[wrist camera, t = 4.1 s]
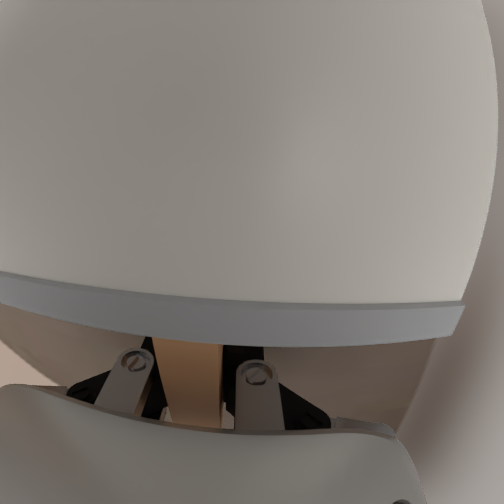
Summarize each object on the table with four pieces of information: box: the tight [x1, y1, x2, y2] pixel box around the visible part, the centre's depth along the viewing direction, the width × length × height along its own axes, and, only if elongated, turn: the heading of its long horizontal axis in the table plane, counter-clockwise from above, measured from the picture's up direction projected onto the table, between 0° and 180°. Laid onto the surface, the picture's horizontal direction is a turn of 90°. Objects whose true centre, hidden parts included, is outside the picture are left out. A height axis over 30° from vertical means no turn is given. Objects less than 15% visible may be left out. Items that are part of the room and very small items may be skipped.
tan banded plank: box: [152, 337, 224, 428], centre depth 8 cm, size 13×2×6 cm, turn 176°
